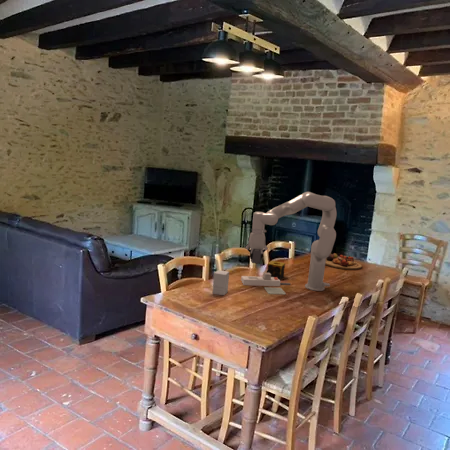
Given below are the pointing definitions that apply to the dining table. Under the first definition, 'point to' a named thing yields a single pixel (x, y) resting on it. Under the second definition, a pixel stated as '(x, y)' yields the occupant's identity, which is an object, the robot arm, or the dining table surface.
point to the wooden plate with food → (342, 262)
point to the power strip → (261, 281)
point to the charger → (256, 256)
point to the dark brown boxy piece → (276, 269)
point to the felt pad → (274, 290)
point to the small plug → (267, 276)
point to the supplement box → (220, 282)
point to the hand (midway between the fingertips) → (255, 259)
